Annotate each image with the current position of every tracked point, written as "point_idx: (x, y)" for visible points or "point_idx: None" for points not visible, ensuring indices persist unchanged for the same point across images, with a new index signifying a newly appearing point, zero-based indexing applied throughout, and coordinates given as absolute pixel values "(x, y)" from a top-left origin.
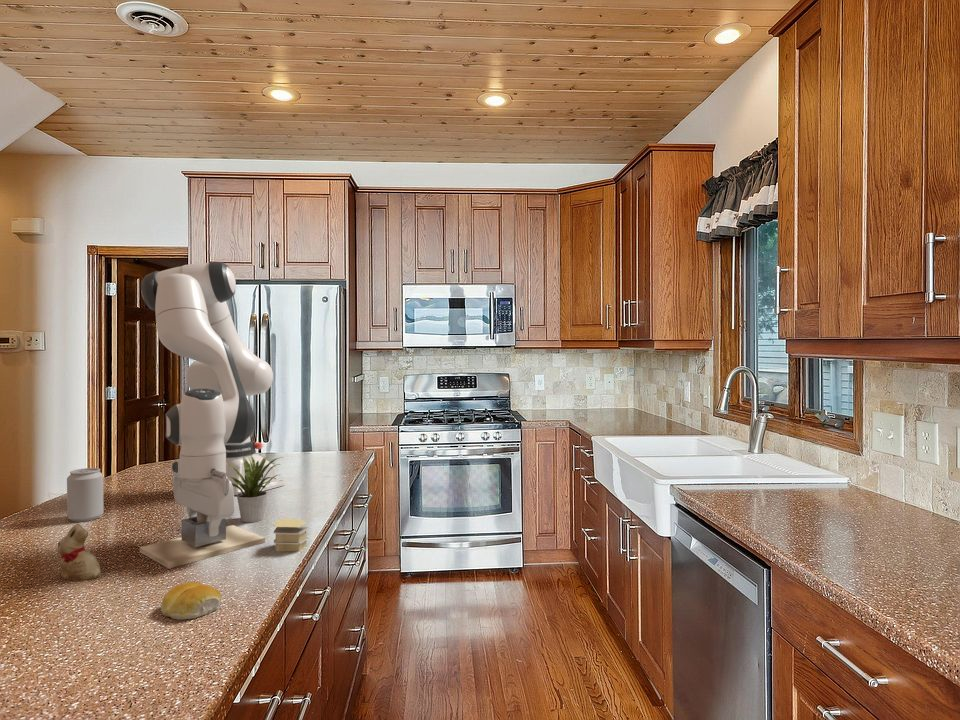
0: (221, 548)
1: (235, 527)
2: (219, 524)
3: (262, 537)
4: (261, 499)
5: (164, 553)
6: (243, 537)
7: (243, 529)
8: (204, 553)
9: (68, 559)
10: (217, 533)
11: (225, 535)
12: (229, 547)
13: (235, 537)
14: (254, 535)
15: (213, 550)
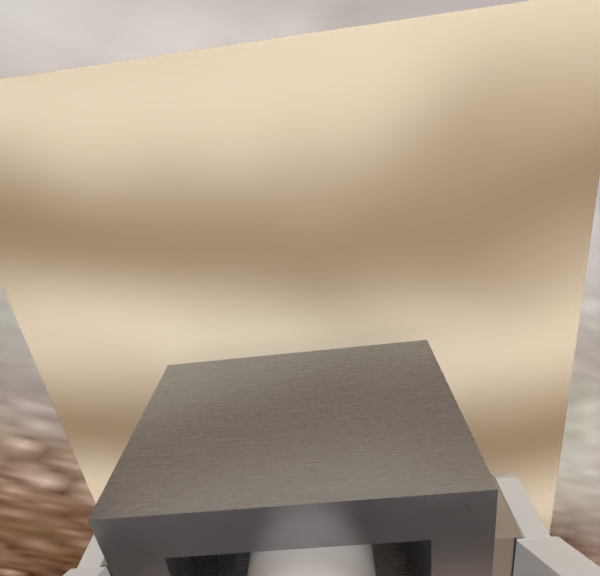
0: (549, 402)
1: (29, 103)
2: (587, 559)
3: (590, 8)
4: None
5: None
6: (427, 174)
7: (155, 62)
8: (545, 497)
9: None
10: (517, 483)
11: (434, 362)
12: (573, 353)
13: (368, 230)
14: (452, 54)
15: (541, 449)
